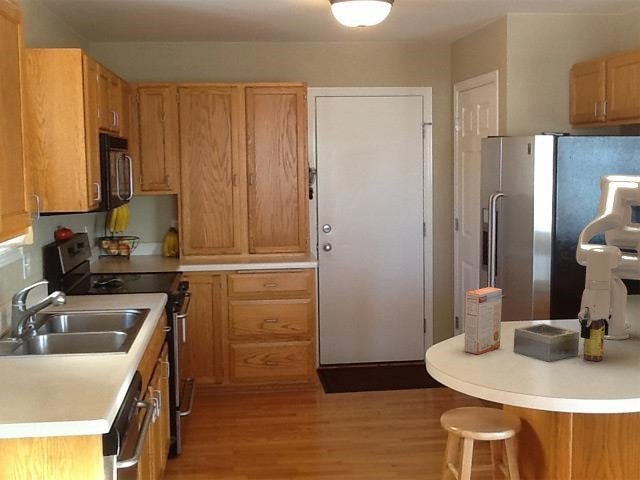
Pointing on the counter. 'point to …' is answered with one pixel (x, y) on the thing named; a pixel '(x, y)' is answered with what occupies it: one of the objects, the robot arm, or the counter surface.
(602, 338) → the sauce bottle
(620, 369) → the counter surface
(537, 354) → the grey square tray
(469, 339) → the cracker box
